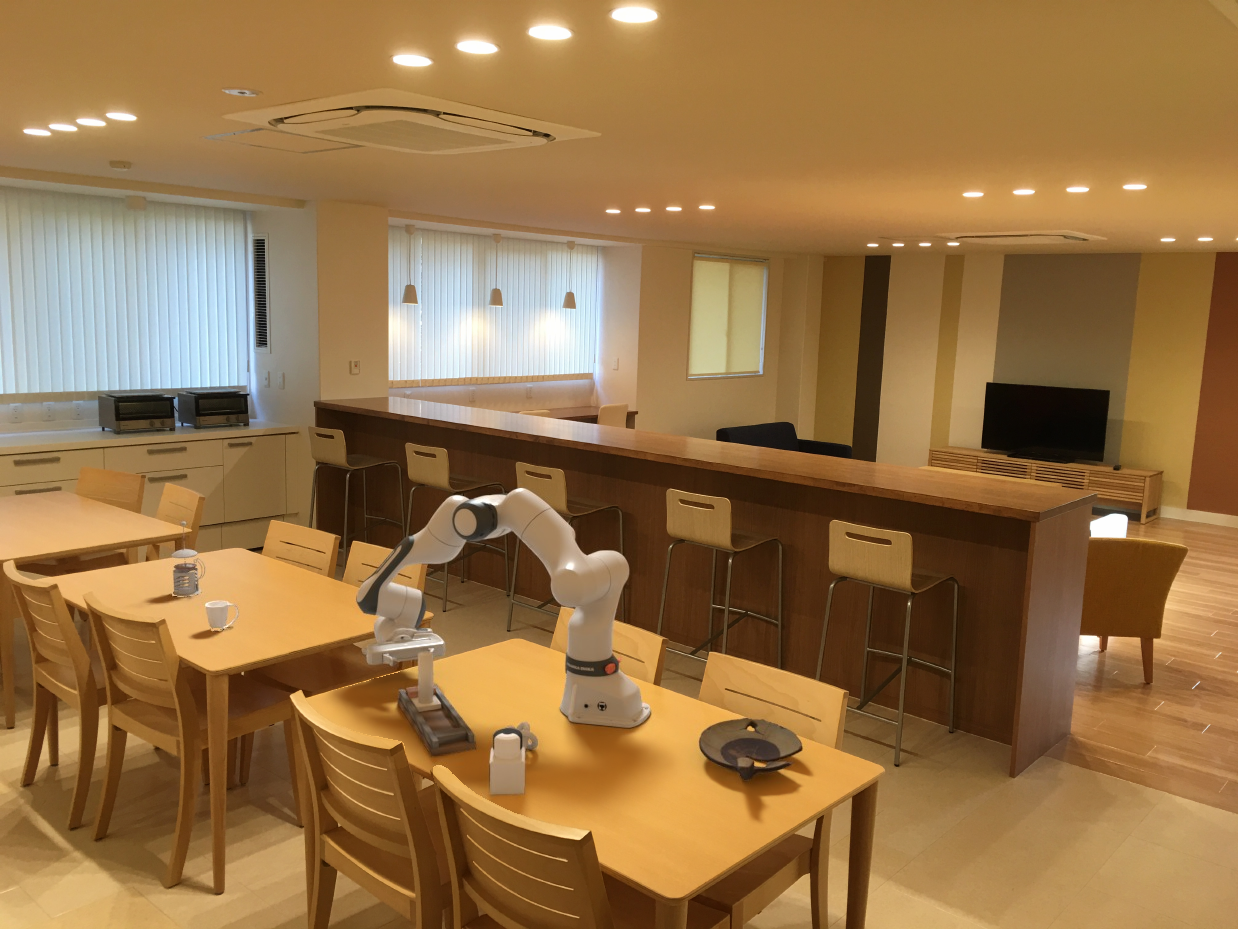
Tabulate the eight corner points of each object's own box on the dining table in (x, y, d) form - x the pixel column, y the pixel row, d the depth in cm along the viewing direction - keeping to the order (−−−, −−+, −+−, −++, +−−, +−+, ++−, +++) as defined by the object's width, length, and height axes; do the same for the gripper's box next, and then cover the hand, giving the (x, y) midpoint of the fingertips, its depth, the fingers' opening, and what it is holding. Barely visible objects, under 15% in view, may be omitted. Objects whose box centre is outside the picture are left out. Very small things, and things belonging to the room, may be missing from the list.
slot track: (475, 749, 217) (475, 730, 216) (432, 756, 212) (431, 737, 212) (437, 697, 245) (437, 680, 244) (397, 703, 241) (397, 686, 240)
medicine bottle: (490, 779, 203) (491, 724, 201) (524, 778, 204) (525, 724, 202) (489, 795, 196) (489, 739, 194) (524, 795, 197) (525, 739, 195)
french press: (181, 588, 334) (178, 517, 330) (212, 590, 332) (209, 519, 329) (164, 596, 324) (160, 523, 321) (196, 598, 323) (193, 525, 319)
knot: (543, 746, 219) (544, 721, 218) (531, 761, 212) (531, 736, 211) (512, 741, 221) (513, 717, 220) (499, 756, 214) (499, 731, 213)
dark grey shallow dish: (817, 755, 218) (819, 723, 217) (760, 809, 193) (762, 773, 192) (728, 730, 230) (729, 699, 229) (664, 778, 205) (665, 744, 204)
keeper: (441, 708, 234) (441, 656, 232) (416, 712, 232) (416, 659, 230) (434, 699, 240) (434, 648, 238) (410, 703, 237) (410, 651, 235)
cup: (201, 629, 292) (200, 603, 291) (233, 622, 300) (232, 597, 298) (211, 634, 288) (210, 608, 286) (244, 627, 295) (243, 602, 294)
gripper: (360, 636, 252) (371, 653, 240) (436, 627, 261) (451, 643, 249) (360, 659, 253) (371, 678, 241) (436, 650, 262) (451, 667, 250)
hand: (412, 660), depth 245 cm, fingers open, 8 cm apart
